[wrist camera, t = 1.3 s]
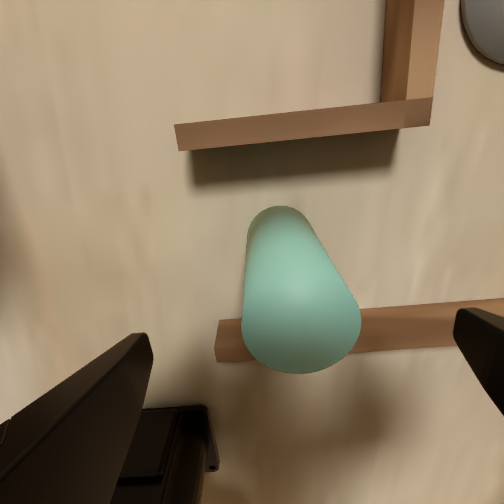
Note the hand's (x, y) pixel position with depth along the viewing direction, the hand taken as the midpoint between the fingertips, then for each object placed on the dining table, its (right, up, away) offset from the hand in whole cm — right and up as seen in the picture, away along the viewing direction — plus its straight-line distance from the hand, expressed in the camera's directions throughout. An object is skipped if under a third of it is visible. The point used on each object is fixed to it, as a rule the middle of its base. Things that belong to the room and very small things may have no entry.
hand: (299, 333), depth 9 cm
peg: (0, +3, +7) cm, 8 cm away
